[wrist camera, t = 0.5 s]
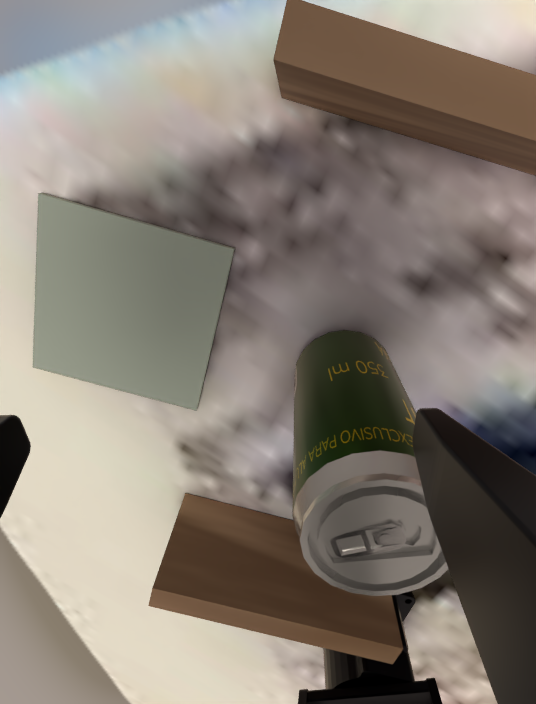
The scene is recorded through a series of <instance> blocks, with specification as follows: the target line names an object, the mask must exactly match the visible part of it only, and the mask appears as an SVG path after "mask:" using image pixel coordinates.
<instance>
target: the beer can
mask: <svg viewBox="0 0 536 704" xmlns="http://www.w3.org/2000/svg"><path fill="white" fill-rule="evenodd" d="M415 418H416V412H415V410H414V408H413V406H412V404H411V402H410V399H409V397H408V395H407V393H406V391H405V389H404V387H403V385H402V383H401V381H400V379H399V377H398V375H397V373H396V371H395V369H394V367H393V365H392V362H391V360H390V358H389V356H388V354H387V352H386V350H385V349H384V348H383V347H382V346H381V345H380V344H379V343H378V342H377V341H376V340H375V339H374V338H372V337H370V336H367V335H365V334H363V333H361V332H355V331H348V330H342V331H336V332H330V333H327V334H325V335H323V336H321V337H319V338H317V339H315V340H314V341H312V342H311V343H310V344H309V345H308V346H307V347H306V348H305V349H304V350H303V352H302V354H301V355H300V357H299V359H298V361H297V364H296V370H295V382H294V454H293V519H294V523H295V528H296V532H297V535H298V536H299V538H300V544H301V548H302V553H303V557H304V559H305V560H306V562H307V563H308V565H309V566H310V567H311V569H312V570H313V572H314V573H315V574H317V575H318V576H319V577H321V578H322V579H323V580H325V581H326V582H327V583H329V584H330V585H332V586H335V587H337V588H340V589H343V590H345V591H348V592H350V593H356V594H363V595H370V596H385V595H398V594H402V593H405V592H409V591H412V590H416V589H419V588H422V587H423V586H425V585H427V584H429V583H431V582H432V581H434V580H436V579H438V578H439V577H441V576H442V575H443V574H444V573H445V571H446V570H447V569H448V566H447V563H446V560H445V558H444V555H443V552H442V549H441V547H440V544H439V541H438V538H437V536H436V533H435V530H434V527H433V525H432V522H431V519H430V516H429V513H428V509H427V505H426V501H425V497H424V493H423V489H422V484H421V480H420V476H419V472H418V467H417V463H416V459H415V455H414V450H413V443H412V438H413V431H414V425H415Z"/></svg>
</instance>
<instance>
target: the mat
mask: <svg viewBox="0 0 536 704" xmlns="http://www.w3.org/2000/svg"><path fill="white" fill-rule="evenodd" d="M234 251H235V248H233V247H230V246H226V245H223V244H219V243H216V242H213V241H209V240H206V239H202V238H199V237H195V236H192V235H188V234H185V233H181V232H178V231H174V230H171V229H167V228H164V227H160V226H157V225H153V224H150V223H146V222H143V221H139V220H136V219H132V218H129V217H125V216H122V215H118V214H115V213H111V212H108V211H104V210H101V209H97V208H94V207H90V206H87V205H83V204H80V203H76V202H73V201H69V200H66V199H62V198H59V197H55V196H52V195H48V194H45V193H38V220H37V251H36V282H35V312H34V343H33V368H37V369H41V370H45V371H48V372H52V373H56V374H60V375H63V376H67V377H71V378H75V379H79V380H82V381H86V382H90V383H94V384H97V385H101V386H105V387H109V388H113V389H116V390H120V391H124V392H128V393H131V394H135V395H139V396H143V397H146V398H150V399H154V400H158V401H162V402H165V403H169V404H173V405H177V406H180V407H184V408H188V409H192V410H196V411H197V408H198V405H199V401H200V396H201V392H202V388H203V383H204V379H205V375H206V371H207V366H208V362H209V358H210V353H211V349H212V345H213V341H214V336H215V332H216V328H217V323H218V319H219V315H220V311H221V306H222V302H223V298H224V293H225V289H226V285H227V281H228V276H229V272H230V268H231V263H232V259H233V255H234Z"/></svg>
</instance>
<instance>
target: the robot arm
mask: <svg viewBox="0 0 536 704" xmlns="http://www.w3.org/2000/svg"><path fill="white" fill-rule="evenodd" d="M412 443H413V450H414V455H415V459H416V463H417V467H418V472H419V476H420V480H421V484H422V489H423V493H424V497H425V501H426V505H427V509H428V513H429V516H430V519H431V522H432V525H433V527H434V530H435V533H436V536H437V538H438V541H439V544H440V547H441V549H442V552H443V555H444V558H445V560H446V563H447V566H448V569H449V571H450V574H451V577H452V580H453V582H454V585H455V588H456V591H457V593H458V596H459V599H460V602H461V604H462V607H463V610H464V613H465V615H466V618H467V621H468V624H469V626H470V629H471V632H472V635H473V637H474V640H475V643H476V646H477V648H478V651H479V654H480V657H481V659H482V662H483V665H484V668H485V670H486V673H487V676H488V679H489V681H490V684H491V687H492V690H493V692H494V695H495V698H496V701H497V703H498V704H536V476H535V475H534V474H533V473H531V472H530V471H528V470H527V469H525V468H524V467H522V466H521V465H520V464H518V463H517V462H515V461H514V460H512V459H511V458H509V457H508V456H506V455H505V454H504V453H502V452H501V451H499V450H498V449H496V448H495V447H493V446H492V445H490V444H489V443H488V442H486V441H485V440H483V439H482V438H480V437H479V436H477V435H476V434H474V433H473V432H472V431H470V430H469V429H467V428H466V427H464V426H463V425H461V424H460V423H459V422H457V421H456V420H454V419H453V418H451V417H450V416H448V415H447V414H445V413H444V412H443V411H441V410H439V409H437V408H421V409H419V410H418V411H417V413H416V418H415V425H414V431H413V438H412ZM30 447H31V446H30V441H29V439H28V436H27V434H26V432H25V429H24V427H23V425H22V422H21V420H20V419H19V418H18V417H17V416H15V415H0V518H1V516H2V514H3V512H4V510H5V508H6V506H7V503H8V501H9V499H10V497H11V494H12V492H13V490H14V488H15V485H16V483H17V481H18V478H19V476H20V474H21V472H22V469H23V467H24V465H25V462H26V460H27V458H28V456H29V453H30ZM392 600H393V605H394V609H395V614H396V618H397V623H398V627H399V632H400V636H401V641H402V645H403V650H402V651H401V653H400V654H399V656H398V657H397V659H396V660H395V662H394V663H393V664H389V663H385V662H381V661H376V660H372V659H368V658H364V657H360V656H356V655H351V654H347V653H343V652H339V651H335V650H331V649H326V648H323V650H324V669H325V687H326V689H323V690H312V691H308V689H303V690H299V699H298V704H442V701H441V698H440V694H439V691H438V687H437V684H436V680H435V678H427V679H426V680H425V681H415V679H414V675H413V670H412V666H411V662H410V657H409V653H408V645H407V640H406V636H405V632H404V627H403V623H402V622H403V620H404V619H405V617H406V616H407V614H408V613H409V611H410V610H411V608H412V607H413V605H414V603H415V598H414V595H413V594H412V593H411V592H405V593H402V594H398V595H392Z"/></svg>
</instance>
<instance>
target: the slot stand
mask: <svg viewBox="0 0 536 704" xmlns="http://www.w3.org/2000/svg"><path fill="white" fill-rule="evenodd" d="M274 64H275V69H276V73H277V78H278V82H279V87H280V92H281V96H282V98H285V99H288V100H291V101H294V102H298V103H301V104H304V105H307V106H311V107H314V108H317V109H320V110H324V111H327V112H330V113H333V114H337V115H340V116H343V117H347V118H350V119H353V120H356V121H360V122H363V123H366V124H369V125H373V126H376V127H379V128H382V129H386V130H389V131H392V132H395V133H399V134H402V135H405V136H409V137H412V138H415V139H418V140H422V141H425V142H428V143H431V144H435V145H438V146H441V147H444V148H448V149H451V150H454V151H457V152H461V153H464V154H467V155H470V156H474V157H477V158H480V159H484V160H487V161H490V162H493V163H497V164H500V165H503V166H506V167H510V168H513V169H516V170H519V171H523V172H526V173H529V174H532V175H536V75H533V74H530V73H527V72H524V71H521V70H518V69H515V68H511V67H508V66H505V65H502V64H499V63H496V62H493V61H490V60H486V59H483V58H480V57H477V56H474V55H471V54H468V53H465V52H461V51H458V50H455V49H452V48H449V47H446V46H443V45H439V44H436V43H433V42H430V41H427V40H424V39H421V38H418V37H414V36H411V35H408V34H405V33H402V32H399V31H396V30H392V29H389V28H386V27H383V26H380V25H377V24H374V23H371V22H367V21H364V20H361V19H358V18H355V17H352V16H349V15H346V14H342V13H339V12H336V11H333V10H330V9H327V8H324V7H320V6H317V5H314V4H311V3H308V2H305V1H302V0H287V3H286V7H285V11H284V16H283V20H282V24H281V29H280V33H279V38H278V42H277V46H276V51H275V55H274ZM149 606H151V607H155V608H160V609H164V610H168V611H172V612H176V613H180V614H185V615H189V616H193V617H197V618H201V619H205V620H210V621H214V622H218V623H222V624H226V625H230V626H235V627H239V628H243V629H247V630H251V631H256V632H260V633H264V634H268V635H272V636H276V637H281V638H285V639H289V640H293V641H297V642H301V643H306V644H310V645H314V646H318V647H322V648H326V649H331V650H335V651H339V652H343V653H347V654H351V655H356V656H360V657H364V658H368V659H372V660H376V661H381V662H385V663H389V664H393V663H394V662H395V660H396V659H397V657H398V656H399V654H400V653H401V651H402V650H403V645H402V641H401V636H400V632H399V627H398V623H397V618H396V614H395V609H394V605H393V600H392V595H385V596H370V595H363V594H356V593H350V592H348V591H345V590H343V589H340V588H337V587H335V586H332V585H330V584H329V583H327V582H326V581H325V580H323V579H322V578H321V577H319V576H318V575H317V574H315V573H314V572H313V570H312V569H311V567H310V566H309V565H308V563H307V562H306V560H305V559H304V557H303V553H302V548H301V544H300V538H299V536H298V535H297V532H296V528H295V523H294V521H293V520H289V519H285V518H281V517H277V516H273V515H269V514H266V513H262V512H258V511H254V510H250V509H246V508H242V507H238V506H234V505H230V504H226V503H222V502H218V501H214V500H211V499H207V498H203V497H199V496H195V495H191V494H187V493H185V496H184V499H183V502H182V504H181V507H180V510H179V513H178V516H177V519H176V522H175V525H174V528H173V530H172V533H171V536H170V539H169V542H168V545H167V548H166V551H165V554H164V557H163V559H162V562H161V565H160V568H159V571H158V574H157V577H156V580H155V583H154V585H153V588H152V593H151V597H150V602H149Z"/></svg>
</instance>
